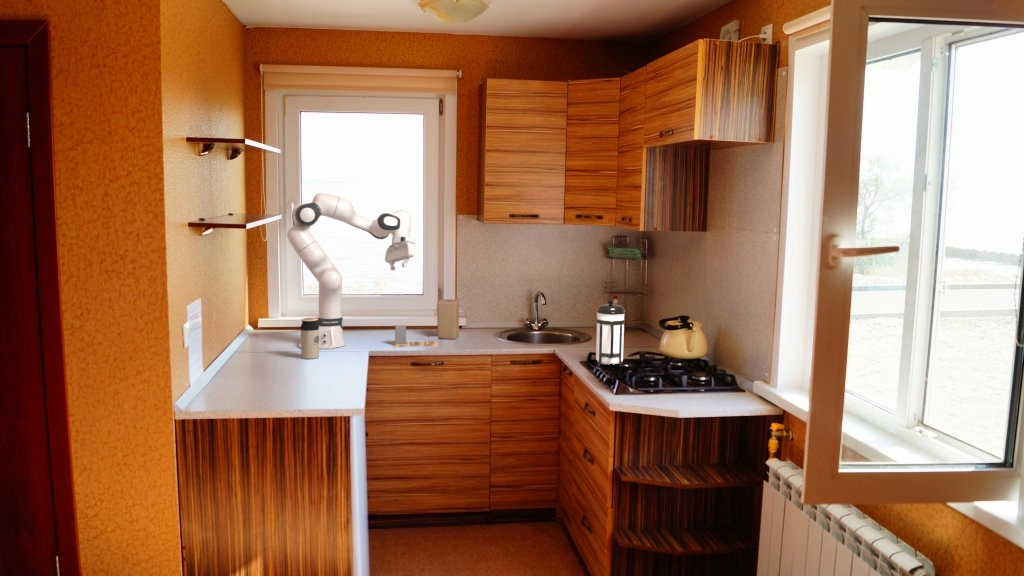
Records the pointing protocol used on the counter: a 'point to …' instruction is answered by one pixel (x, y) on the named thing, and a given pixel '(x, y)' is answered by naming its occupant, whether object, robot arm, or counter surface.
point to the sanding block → (400, 335)
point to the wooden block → (448, 319)
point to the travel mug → (309, 338)
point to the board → (417, 344)
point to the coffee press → (610, 333)
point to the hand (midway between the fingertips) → (398, 268)
